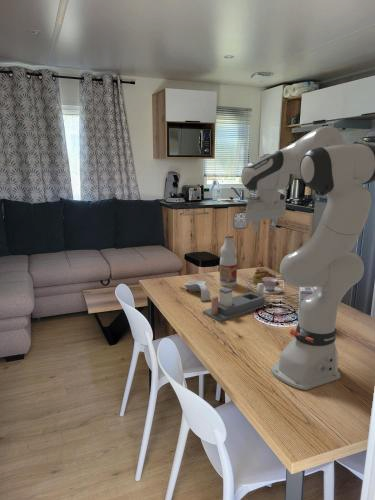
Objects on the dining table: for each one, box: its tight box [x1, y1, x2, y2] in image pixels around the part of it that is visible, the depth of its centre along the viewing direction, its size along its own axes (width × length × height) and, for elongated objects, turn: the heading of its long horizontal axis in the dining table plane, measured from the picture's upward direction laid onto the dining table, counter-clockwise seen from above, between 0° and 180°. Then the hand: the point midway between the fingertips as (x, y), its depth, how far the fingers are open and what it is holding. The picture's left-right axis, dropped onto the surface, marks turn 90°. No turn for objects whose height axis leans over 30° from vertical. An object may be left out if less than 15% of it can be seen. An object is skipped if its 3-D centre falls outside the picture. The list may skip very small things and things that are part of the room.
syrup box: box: [297, 287, 315, 322], centre depth 154 cm, size 6×6×14 cm
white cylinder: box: [218, 287, 233, 308], centre depth 164 cm, size 4×4×10 cm
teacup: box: [263, 277, 283, 295], centre depth 193 cm, size 12×12×6 cm
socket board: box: [202, 283, 273, 322], centre depth 169 cm, size 33×12×9 cm, turn 126°
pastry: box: [252, 267, 277, 286], centre depth 207 cm, size 13×15×8 cm
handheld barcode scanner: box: [184, 280, 211, 302], centre depth 190 cm, size 24×12×7 cm, turn 17°
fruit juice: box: [219, 234, 238, 288], centre depth 201 cm, size 9×9×28 cm
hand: (264, 230), depth 148 cm, fingers open, 8 cm apart
